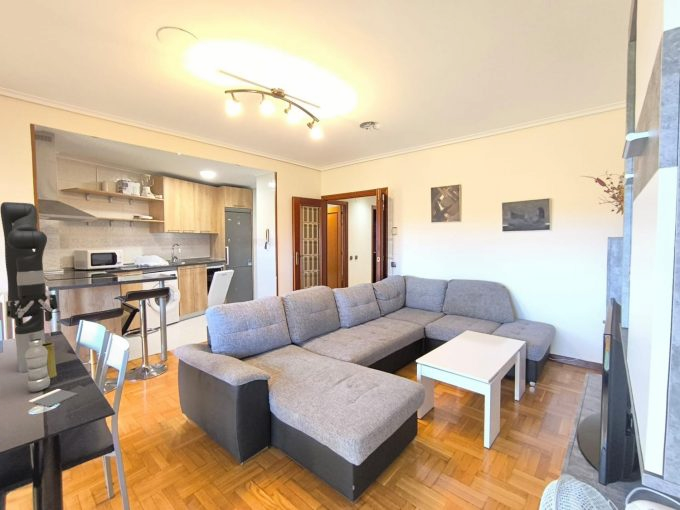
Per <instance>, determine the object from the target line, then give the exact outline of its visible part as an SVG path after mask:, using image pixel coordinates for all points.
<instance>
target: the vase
mask: <svg viewBox="0 0 680 510" xmlns="http://www.w3.org/2000/svg"><path fill="white" fill-rule="evenodd" d="M54 344H55V343H54V342H45V343H44V344H42V346H44V347H45V348H46V349H47V351H48V355H47V370H48V375H49V378H51V379H53V378H55V377H57V376H58V372H57V366H56V357H55V356H56V355H55V345H54Z"/></svg>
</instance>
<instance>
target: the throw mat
mask: <svg viewBox="0 0 680 510" xmlns="http://www.w3.org/2000/svg"><path fill="white" fill-rule="evenodd" d="M73 396H74V397H75V396H79V393H77V392H72V391H68V390H64V389H60V388H57V389H55V390H52V391H49V392H47V393H44V394H42V395H39V396H37V397H35V398H32V399H30V400H28V403H30V402H31V403H30V404H34V403H35V404H34V405H38V404H39V405H38V406H42V405H44V406H43V407H45V406H47V407H46V408H51V407H54V406H55V404H56V405H58V404H60V403H62V401H63V402H65V401H67V400H69V399H71V397H72V398H74V397H73ZM64 400H65V401H64ZM57 403H58V404H57ZM53 405H54V406H53ZM50 406H51V407H50Z"/></svg>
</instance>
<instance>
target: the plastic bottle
mask: <svg viewBox="0 0 680 510" xmlns="http://www.w3.org/2000/svg"><path fill="white" fill-rule="evenodd" d="M42 344H43V342H42V339H33V340H30V341H29V346H30V348H29V349H28V350H27V352H26V354H25V358H26V362H27V366H28V371H27V373H28V374H27V378H28V379H27V383H26V384H27V385H26V386H27V390H28V391H29V392H33V393H34V392H41V391H43V390H45V389H47V388H49V386H50V385H51V379H50V378H49V375H48V370H47V355H48V351H47V349H46V348H45V347H44V346H42Z"/></svg>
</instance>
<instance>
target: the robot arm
mask: <svg viewBox="0 0 680 510" xmlns="http://www.w3.org/2000/svg"><path fill="white" fill-rule="evenodd" d="M0 218H1V224H2V230H3V231H2V232H3V237H4V259H5V262H4V263H5V269H6V277H7V302H6V316H7V318H11V319H12V320H14V323H15V326H16V327H15V328H14V334H15V335H14V336H15V348H16V360H17V369H18V370H17V371H18V372H19V373H26V372H27V373H28V366H27V362H26V358H25V354H26V352H27V350H28V349H29V348H30V346H29V341H30V340H33V339H42V342H43V344H44V343H46V339H45V337H46V336H45V322H51V321H52V319H53V311H54V310H57V309H58V300H57V295H56V294H48V295H47V294H46V293H47V292H46V291H47V290H46V278H45V277H46V276H45V273H44V266H43V264H44V263H43V258H44V251H45V248H46V245H47V243H48V237H47V234H46V233H45V232H44V231H41V230H39V229H38V227H37V225H38V218H39V217H38V209H37V207H36V206H35V205H34V204H33V203H28V202H27V203H26V202H25V203H24V202H12V201H11V202H10V201H4V202H2V203H1V204H0ZM47 300H48V302H49V304H47V303H46V301H47ZM28 317H30V318H29V319H28V320H27V321H25V322H24V318H28ZM44 319H45V320H44Z"/></svg>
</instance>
